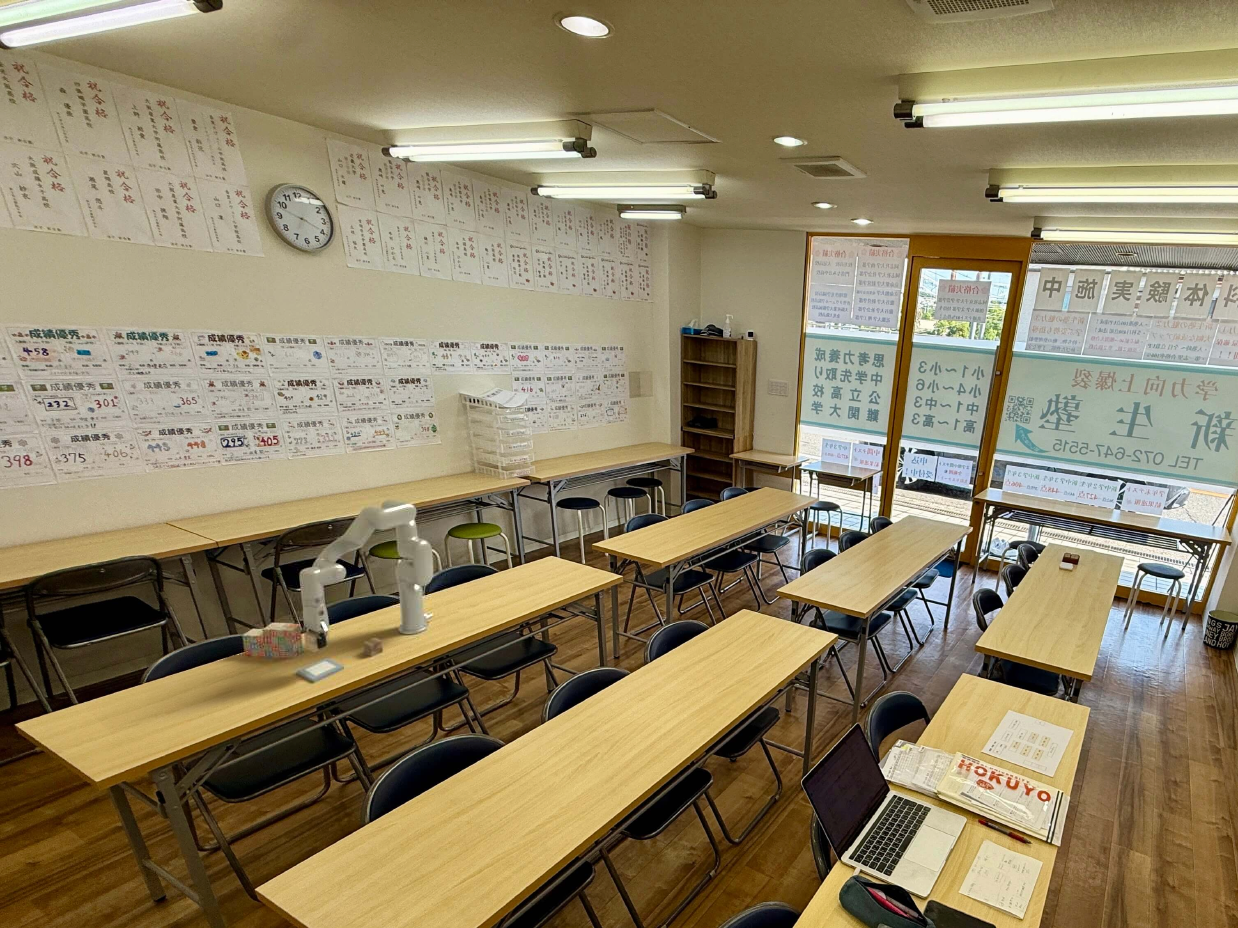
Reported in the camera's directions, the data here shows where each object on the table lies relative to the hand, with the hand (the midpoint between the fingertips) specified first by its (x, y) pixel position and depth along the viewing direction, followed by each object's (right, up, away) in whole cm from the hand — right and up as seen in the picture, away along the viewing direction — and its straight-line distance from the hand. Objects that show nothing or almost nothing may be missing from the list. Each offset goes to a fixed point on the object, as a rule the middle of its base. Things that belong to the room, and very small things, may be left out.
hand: (317, 644), depth 221 cm
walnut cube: (+15, -8, +16) cm, 23 cm away
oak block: (0, -1, 0) cm, 1 cm away
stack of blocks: (-26, -9, +16) cm, 32 cm away
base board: (0, -11, +2) cm, 11 cm away
